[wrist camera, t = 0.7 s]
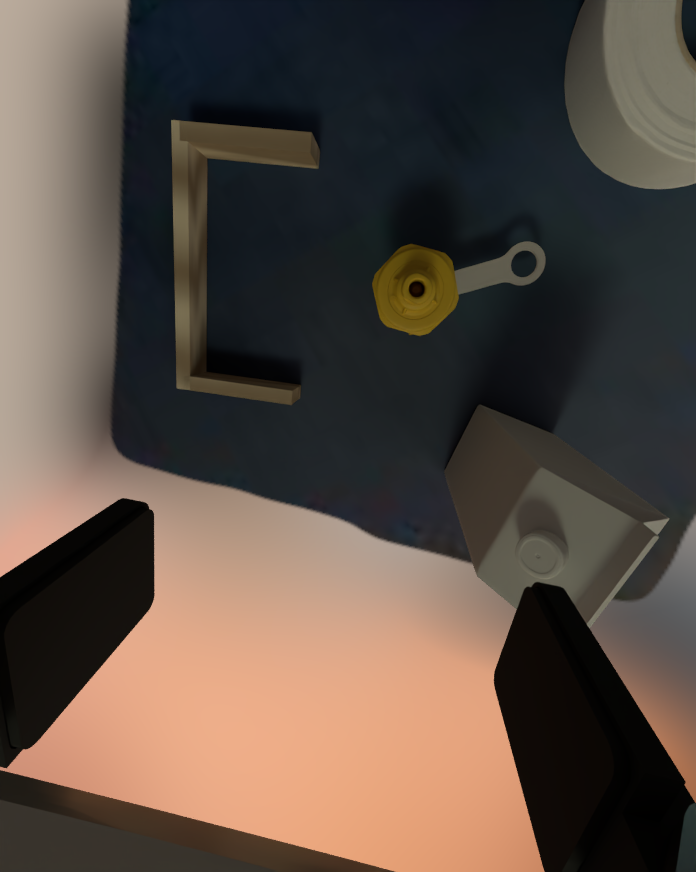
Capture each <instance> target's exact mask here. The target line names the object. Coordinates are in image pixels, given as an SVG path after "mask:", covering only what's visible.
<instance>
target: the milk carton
mask: <svg viewBox="0 0 696 872" xmlns="http://www.w3.org/2000/svg"><path fill="white" fill-rule="evenodd" d="M444 474H445V477H446V480H447V484H448V487H449V490H450V493H451V496H452V499H453V503H454V506H455V509H456V512H457V515H458V518H459V521H460V525H461V528H462V531H463V534H464V537H465V540H466V544H467V547H468V550H469V553H470V556H471V559H472V563H473V566H474V568H475V571H476V574H477V576H478V577H479V578H480V579H481V580H482V581H484V582H485V583H486V584H487V585H488V586H490V587H491V588H492V589H493V590H494V591H496V592H497V593H498V594H499V595H500V596H502V597H503V598H504V599H505V600H506V601H508V602H509V603H510V604H511V605H512V606H514V607H515V608H516V609H517V608H518V605H519V602H520V599H521V596H522V594H523V591H524V589H525V588H526V587H528V586H529V587H532V585H533V584H534V583H535V582H540V583H545V584H550V585H555V586H560V587H562V588H564V589H565V591H566V592H567V594H568V595H569V597H570V598H571V600H572V602H573V603H574V605H575V606H576V608H577V610H578V611H579V613H580V614H581V616H582V618H583V619H584V621H585V622H586V624H587V626H588V627H589V628H590V627H591V626H592V624H593V623H594V622H595V620H596V619H597V618H598V617H599V615H600V614H601V613H602V611H603V610H604V609H605V607H606V606H607V605H608V604H609V602H610V601H611V600H612V598H613V597H614V596H615V594H616V593H617V592H618V591H619V589H620V588H621V587H622V585H623V584H624V583H625V581H626V580H627V579H628V577H629V576H630V575H631V574H632V572H633V571H634V570H635V568H636V567H637V566H638V564H639V563H640V562H641V561H642V559H643V558H644V557H645V555H646V554H647V553H648V551H649V550H650V549H651V547H652V546H653V545H654V544H655V542H656V541H657V540H658V538H659V536H658V534H659V532H660V531H661V530H662V528H663V527H664V526H665V524H666V523H667V522H668V520H669V518H668V517H666V516H665V515H664V514H662V513H661V512H660V511H658V510H657V509H655V508H654V507H653V506H651V505H650V504H649V503H647V502H646V501H644V500H643V499H642V498H640V497H639V496H638V495H636V494H635V493H634V492H632V491H631V490H629V489H628V488H627V487H625V486H624V485H623V484H621V483H620V482H618V481H617V480H616V479H614V478H613V477H612V476H610V475H609V474H608V473H606V472H605V471H603V470H602V469H601V468H599V467H598V466H597V465H595V464H594V463H593V462H591V461H590V460H588V459H587V458H586V457H584V456H583V455H582V454H580V453H579V452H577V451H576V450H575V449H573V448H572V447H571V446H569V445H568V444H567V443H565V442H564V441H562V440H561V439H560V438H558V437H557V436H556V435H554V434H552V433H550V432H547V431H545V430H542V429H540V428H537V427H535V426H532V425H530V424H527V423H525V422H522V421H520V420H517V419H515V418H512V417H510V416H507V415H505V414H502V413H500V412H497V411H495V410H492V409H490V408H487V407H485V406H482V405H478V406H477V408H476V410H475V412H474V414H473V416H472V418H471V420H470V422H469V424H468V426H467V427H466V429H465V431H464V433H463V435H462V437H461V439H460V441H459V443H458V445H457V447H456V449H455V451H454V453H453V455H452V457H451V459H450V461H449V463H448V465H447V467H446V469H445V471H444Z"/></svg>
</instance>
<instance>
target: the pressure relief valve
mask: <svg viewBox="0 0 696 872" xmlns="http://www.w3.org/2000/svg"><path fill="white" fill-rule="evenodd" d="M523 250H528V251H530V252H532V253H533V254H534V255H535V257H536V260H537V261H536V267H535V270H534V271H533V272H532V273H531V274H530V275H529V276H527V277H523V278H522V277H517V276H516V275H514V274H513V272H512V270H511V261H512V259H513V257H514V256H515V255H516V254H517V253H518V252H520V251H523ZM544 267H545V254H544V251H543V250H542V248H541V247H540V246H539V245H537V244H536V243H533V242H522V243H518V244H517V245H515V246H513V247H512V248H511V249H510V250H509V251H508V252H507V253H506V254H505V255H504V256H503V257H501V258H498V259H495V260H491V261H488V262H484V263H481V264H477V265H474V266H470V267H467V268H463V269H460V270H456V271H454V267H453V262H452V260H451V259H450V258H449V257H448V256H447V255H446V254H445V253H443V252H439V251H436V250H433V249H429V248H426V247H422V246H418V245H414V244H409V245H406V246H403V247H400V248H399V249H398V250H397V251H396V252H395V253H394V254H393V255H392V257H391V258H390V259H389V260H388V261H387V262H386V263H385V264H384V265H383V266H382V267H381V268H380V269H379V270H378V272H377V273H376V274H375V277H374V280H373V284H372V286H373V290H374V295H375V299H376V304H377V308H378V312H379V316H380V319H381V321H382V322H383V323H384V324H385V325H386V326H387V327H390V328H394V329H397V330H401V331H404V332H408V333H409V335H412V334H415V335H418V336H420V335H425V334H428V333H430V332H431V331H432V330H433V329H434V328H435V327H436V326H437V325H438V324H439V323H440V322H441V321H442V320H443V319H445V318H446V317H447V316H448V315H449V314H450V313H451V312H452V311H453V310H454V309H455V307H456V305H457V302H458V298H459V296H458V294H462V293H466V292H469V291H473V290H477V289H480V288H484V287H487V286H491V285H495V284H498V283H503V282H508V283H511V284H514V285H522V286H523V285H527V284H530V283H532V282H534V281H535V280H536V279H537V278H538V277H539V276H540V275H541V273H542V272H543V270H544Z"/></svg>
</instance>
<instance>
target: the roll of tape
mask: <svg viewBox="0 0 696 872" xmlns="http://www.w3.org/2000/svg"><path fill="white" fill-rule="evenodd" d="M682 1H683V0H585V1H584V3H583V5H582V7H581V9H580V12H579V14H578V17H577V20H576V23H575V26H574V29H573V32H572V35H571V39H570V43H569V47H568V53H567V59H566V67H565V80H564V90H565V102H566V108H567V111H568V117H569V121H570V124H571V127H572V130H573V132H574V135H575V137H576V139H577V141H578V143H579V145H580V147H581V148H582V150H583V151H584V152H585V154H586V155H587V156H588V157H589V159H590V160H591V161H592V163H593V164H594V165H596V166H597V167H598V168H599V169H600V170H601V171H603V172H604V173H606V174H607V175H609V176H611V177H612V178H614V179H616V180H618V181H620V182H623V183H625V184H628V185H631V186H635V187H640V188H647V189H669V188H677V187H683V186H688V185H691V184H694V183H696V61H695V60H694V59H693V58H692V56H691V54H690V53H689V51H688V49H687V47H686V44H685V41H684V38H683V32H682V24H681V12H682Z"/></svg>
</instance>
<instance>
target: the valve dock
mask: <svg viewBox="0 0 696 872" xmlns="http://www.w3.org/2000/svg"><path fill="white" fill-rule="evenodd" d="M171 126H172V175H173V224H174V273H175V322H176V371H177V388H179V389H185V390H192V391H199V392H206V393H213V394H220V395H227V396H234V397H241V398H248V399H255V400H261V401H268V402H275V403H282V404H289V405H292V404H293V403H294V402H296V401H297V400H298V399H299V398H300V391H301V385H298V384H290V383H283V382H276V381H269V380H262V379H255V378H248V377H241V376H233V375H226V374H219V373H212V372H206V352H207V158H212V159H222V160H233V161H243V162H254V163H264V164H275V165H285V166H296V167H306V168H317V169H319V156H320V149H319V147H318V145H317V143H316V141H315V138H314V136H313V134H312V132H302V131H290V130H279V129H268V128H256V127H245V126H234V125H222V124H211V123H199V122H188V121H177V120H171Z"/></svg>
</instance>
